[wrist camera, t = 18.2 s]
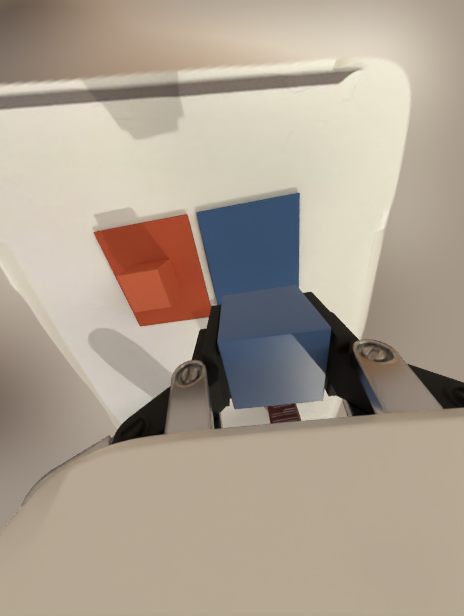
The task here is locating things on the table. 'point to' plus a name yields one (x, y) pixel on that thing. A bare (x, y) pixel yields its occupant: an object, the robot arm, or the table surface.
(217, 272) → the blue mat
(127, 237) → the terracotta mat
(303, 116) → the table surface
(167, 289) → the terracotta block
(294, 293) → the blue block
